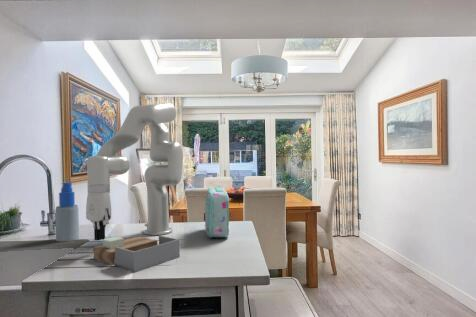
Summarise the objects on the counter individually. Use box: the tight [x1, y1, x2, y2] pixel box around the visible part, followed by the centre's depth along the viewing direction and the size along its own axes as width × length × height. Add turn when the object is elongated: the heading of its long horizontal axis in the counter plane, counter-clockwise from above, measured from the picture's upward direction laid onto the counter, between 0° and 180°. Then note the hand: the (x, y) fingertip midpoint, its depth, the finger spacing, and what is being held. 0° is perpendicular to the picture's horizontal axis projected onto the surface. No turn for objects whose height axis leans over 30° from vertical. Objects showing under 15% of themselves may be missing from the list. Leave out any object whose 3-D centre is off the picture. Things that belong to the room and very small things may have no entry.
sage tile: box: [102, 236, 125, 249], centre depth 108 cm, size 5×5×2 cm
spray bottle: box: [54, 182, 80, 242], centre depth 137 cm, size 9×9×25 cm
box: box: [114, 235, 181, 273], centre depth 103 cm, size 11×18×6 cm, turn 143°
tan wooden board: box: [93, 236, 159, 266], centre depth 111 cm, size 12×18×4 cm, turn 143°
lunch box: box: [203, 185, 230, 238], centre depth 141 cm, size 27×10×21 cm, turn 9°
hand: (99, 239), depth 113 cm, fingers closed
